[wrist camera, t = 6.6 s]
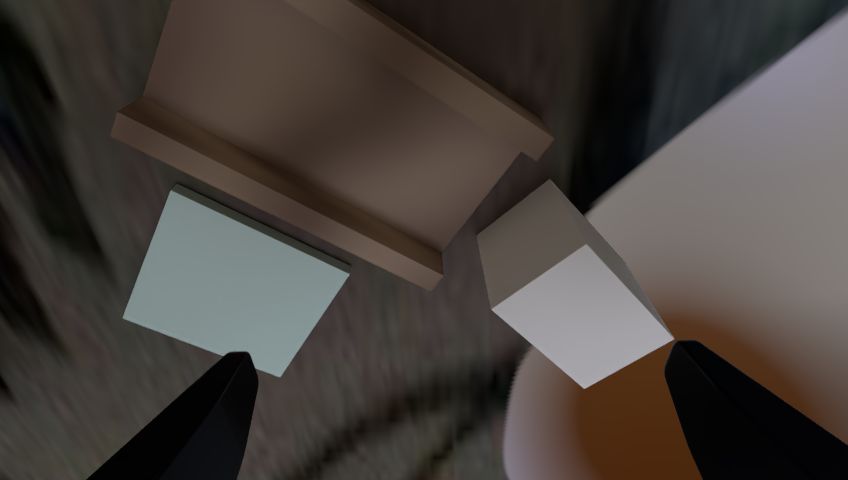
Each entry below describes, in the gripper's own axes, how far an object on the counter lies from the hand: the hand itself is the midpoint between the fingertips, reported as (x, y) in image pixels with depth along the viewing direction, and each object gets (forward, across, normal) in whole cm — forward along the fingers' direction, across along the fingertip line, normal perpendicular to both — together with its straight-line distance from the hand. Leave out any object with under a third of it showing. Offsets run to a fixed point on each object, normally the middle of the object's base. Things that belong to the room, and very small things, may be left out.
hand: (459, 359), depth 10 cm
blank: (+11, -5, +5) cm, 13 cm away
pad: (+10, +10, +6) cm, 15 cm away
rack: (+10, +3, -2) cm, 11 cm away
